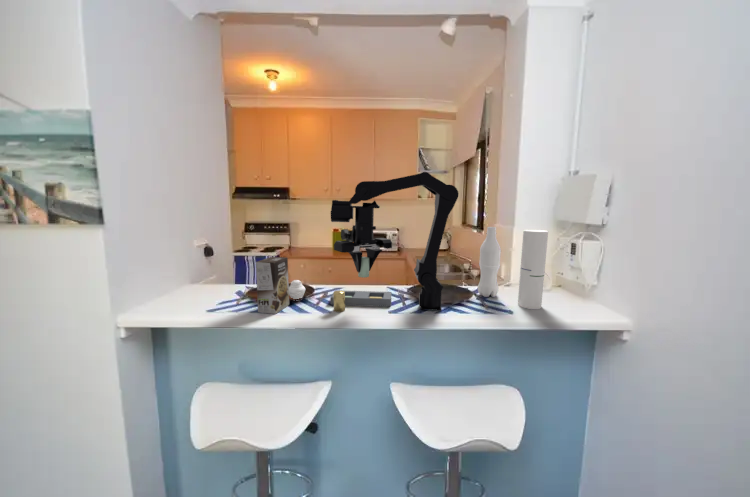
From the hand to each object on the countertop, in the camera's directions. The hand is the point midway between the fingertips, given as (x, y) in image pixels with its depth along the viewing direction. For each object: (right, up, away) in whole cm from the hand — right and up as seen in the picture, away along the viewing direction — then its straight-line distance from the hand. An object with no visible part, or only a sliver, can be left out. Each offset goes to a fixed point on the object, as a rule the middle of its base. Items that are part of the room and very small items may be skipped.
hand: (363, 271), depth 102 cm
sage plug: (0, -2, 0) cm, 2 cm away
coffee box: (-29, -12, 0) cm, 31 cm away
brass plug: (-8, -12, -1) cm, 14 cm away
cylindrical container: (+55, -12, +4) cm, 56 cm away
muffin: (-24, -11, +10) cm, 28 cm away
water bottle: (+45, -10, +15) cm, 48 cm away
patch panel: (-1, -11, +7) cm, 13 cm away
